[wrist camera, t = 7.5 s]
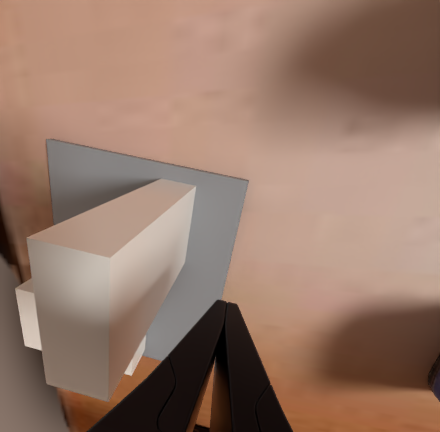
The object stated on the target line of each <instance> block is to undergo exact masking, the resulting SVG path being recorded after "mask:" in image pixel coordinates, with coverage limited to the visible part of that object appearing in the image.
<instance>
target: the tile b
mask: <svg viewBox="0 0 440 432" xmlns="http://www.w3.org/2000/svg"><path fill="white" fill-rule="evenodd" d="M195 191H196V186H194V185H189V184H185V183H180V182H175V181H171V180H166V179H159V180H157V181H155V182H153V183H150V184H148V185H146V186H143V187H141V188H139V189H137V190H134V191H132V192H130V193H127V194H125V195H123V196H120V197H118V198H116V199H114V200H111V201H109V202H107V203H104V204H102V205H100V206H98V207H95V208H93V209H91V210H88V211H86V212H84V213H81V214H79V215H77V216H75V217H72V218H70V219H68V220H65V221H63V222H61V223H59V224H56V225H54V226H52V227H49V228H47V229H45V230H42V231H40V232H38V233H36V234H33V235H31V236H29V237H26V239H27V246H28V253H29V261H30V268H31V275H32V282H33V290H34V297H35V304H36V311H37V319H38V326H39V333H40V340H41V348H42V355H43V362H44V370H45V377H46V384H49V385H52V386H55V387H59V388H62V389H66V390H69V391H72V392H76V393H79V394H83V395H86V396H90V397H93V398H96V399H100V400H103V401H107V402H109V400H110V398H111V397H112V395H113V393H114V391H115V389H116V387H117V386H118V384H119V382H120V380H121V378H122V376H123V375H124V373H125V371H126V369H127V367H128V366H129V364H130V362H131V360H132V358H133V356H134V355H135V353H136V351H137V349H138V347H139V345H140V344H141V342H142V340H143V338H144V336H145V335H146V333H147V331H148V329H149V327H150V325H151V324H152V322H153V320H154V318H155V316H156V314H157V313H158V311H159V309H160V307H161V305H162V303H163V302H164V300H165V298H166V296H167V294H168V293H169V291H170V289H171V287H172V285H173V283H174V282H175V280H176V278H177V276H178V274H179V272H180V271H181V269H182V267H183V265H184V263H185V258H186V252H187V245H188V238H189V231H190V225H191V218H192V211H193V204H194V198H195Z"/></svg>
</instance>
